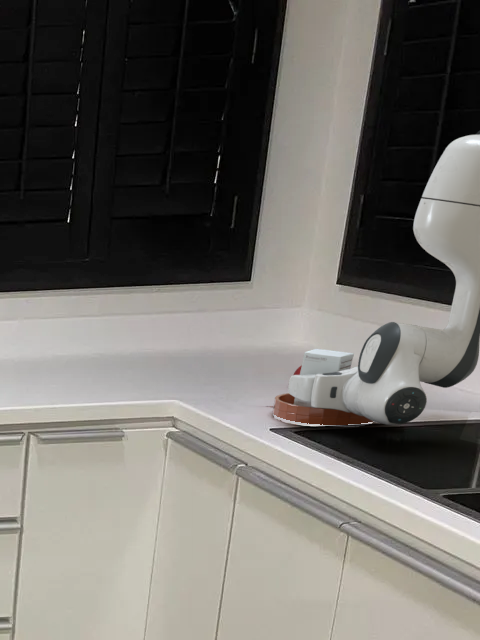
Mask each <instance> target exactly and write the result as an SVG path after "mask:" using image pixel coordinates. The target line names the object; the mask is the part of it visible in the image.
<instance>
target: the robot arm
mask: <svg viewBox="0 0 480 640" xmlns="http://www.w3.org/2000/svg"><path fill="white" fill-rule="evenodd" d="M431 172H432V173H431V174H430V177H429V178H428V181H427V183H426V186H425V188H424V190H423V192H422V195H421V198H420V201H419V203H418V206H417V209H416V211H415V215H414V219H413V226H412V230H413V234H414V237H415V239H416V242H417V243H418V244H419V245H420V247H421V248H422V249H423V250H425V252H426V253H428V254H429V255H431V256H432V257H434V258H435V259H437V260H439V261H440V262H441V263H443V264H445V266H447V267H448V268H449V269H450V270H451V272H452V273H453V275H454V277H455V289H454V293H453V297H452V298H453V299H452V303H451V308H450V312H449V316H448V317H449V318H448V322H447V325H446V327H445V328H444V329H439V328H433V327H427V326H420V325H416V324H409V323H403V322H402V323H401V322H396V321H390V322H387V323H385V324H383V325H381V326H380V327H378V328H377V329H376V330H374V332H372V333H371V334H370V335H369V336H368V337H367V339H365V341H364V343H363V345H362V348H361V351H360V353H359V357H358V361H357V366H355V367H352V368H350V369H347V370H343V371H339V372H332V373H323V374H315V375H291V376H290V377H289V380H288V387H287V393H289V394H290V395H292V396H294V397H296V398H298V399H300V400H303V401H306V402H311V406H312V407H315V408H322V409H334V410H341V411H345V412H348V413H350V412H352V413H354V414H357V415H360V416H364V417H366V418H367V419H370V420H372V421H374V423H379V424H383V425H386V426H387V425H388V426H401V425H404V424H407V423H410V422H412V421H414V420H416V419H417V418H418V417H419V416H421V414H422V413H423V412H424V411H425V409H426V406H427V403H428V399H427V394H426V392H425V390H424V389H423V387H422V385H421V383H424V384H427V385H432V386H434V387H435V386H436V387H439V388H443V389H447V388H451V387H454V386H456V385H457V384H459V383H461V382H462V381H464V380H466V379H467V378H468V377H469V376H471V375H472V374H473V372H474V371H475V369H476V367H477V365H478V362H479V358H480V130H479V131H477V132H476V133H475V134H469V135H465V136H461V137H458V138H456V139H454V140H453V141H451V142H450V143H449V144H448V145H447V146H446V147H445V149H444V150H443V152H442V154H441V155H440V157H439V159H438V160H437V163H436V165H435V167H434V168H433V171H431Z"/></svg>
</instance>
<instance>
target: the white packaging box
mask: <svg viewBox="0 0 480 640" xmlns="http://www.w3.org/2000/svg"><path fill="white" fill-rule="evenodd" d="M354 356H355V353H354V352H353V353H352V352H346V351H338V350H330V349H325V348H314V349H311V350H308V351H307V350H306V351H304V354H303V358H302V364H301V365H302V367H301V371H300V375H315V374H323V373H332V372H339V371H343V370H347V369H352V368H351V367H352V363H353V359H354ZM294 404H295V405H300V406H308V407H312V406H311V402H306V401H303V400H300V399H298V398H296V397H295V400H294Z"/></svg>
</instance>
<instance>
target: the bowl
mask: <svg viewBox="0 0 480 640" xmlns="http://www.w3.org/2000/svg"><path fill="white" fill-rule="evenodd" d="M294 400H295V397H294V396H292V395H290V394H289V392H287V393H282V394H278V395H276V396H275V397H274V400H273V407H272V408H273V409H272V415H273V414H274V415H276V416H277V417H280V418H283V419H286V420H290V421H295V422H301V423H307V424H308V423H309V424H320V425H322V424H323V425H348V424H361V423H368V422H373V421H372V420H370V419H367V418H366V417H364V416H360V415H357V414H354V413H352V412H350V413H348V412H345V411H341V410H334V409H322V408H315V407H308V406H300V405H295V404H294Z"/></svg>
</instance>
